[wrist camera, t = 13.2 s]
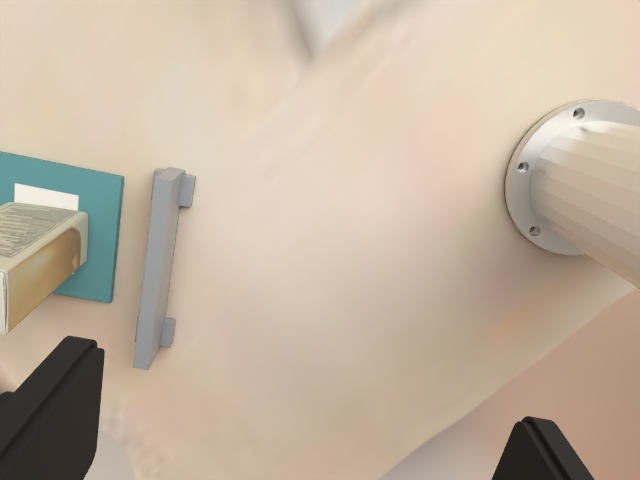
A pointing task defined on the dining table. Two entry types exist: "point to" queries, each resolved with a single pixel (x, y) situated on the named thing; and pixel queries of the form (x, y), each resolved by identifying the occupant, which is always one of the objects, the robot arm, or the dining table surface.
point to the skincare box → (36, 255)
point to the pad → (75, 194)
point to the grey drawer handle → (160, 263)
